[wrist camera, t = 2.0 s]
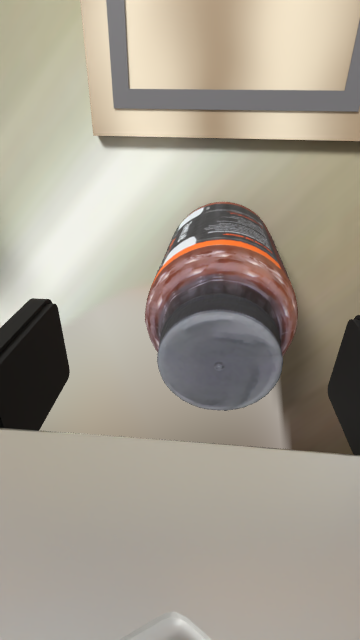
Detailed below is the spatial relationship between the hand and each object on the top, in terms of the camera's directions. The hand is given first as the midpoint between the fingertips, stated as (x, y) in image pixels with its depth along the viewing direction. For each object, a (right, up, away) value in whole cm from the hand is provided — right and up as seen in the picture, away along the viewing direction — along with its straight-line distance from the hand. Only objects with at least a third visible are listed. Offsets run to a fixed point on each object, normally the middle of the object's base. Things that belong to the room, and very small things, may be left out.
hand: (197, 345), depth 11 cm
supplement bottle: (+2, +5, +9) cm, 11 cm away
